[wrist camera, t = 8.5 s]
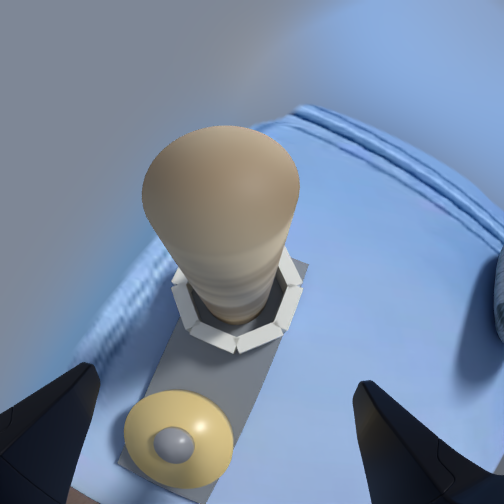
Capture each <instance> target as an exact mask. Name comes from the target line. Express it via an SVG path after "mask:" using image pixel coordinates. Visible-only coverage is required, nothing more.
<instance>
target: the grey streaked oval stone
mask: <svg viewBox="0 0 504 504" xmlns="http://www.w3.org/2000/svg"><path fill="white" fill-rule="evenodd" d="M494 316H495V325H496V331H497V333H498V335H499V338H500V339H501V341H502V342H503V343H504V246H503V248H502V250H501V253H500V255H499V258H498V262H497V267H496V276H495V287H494Z"/></svg>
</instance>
